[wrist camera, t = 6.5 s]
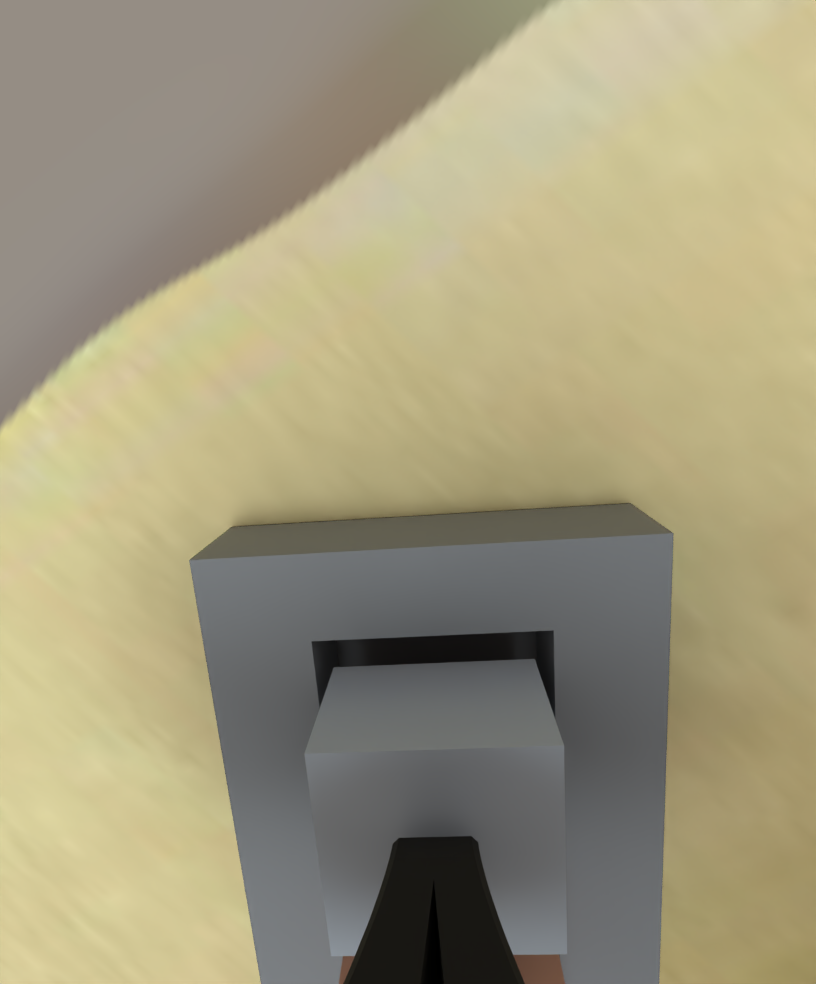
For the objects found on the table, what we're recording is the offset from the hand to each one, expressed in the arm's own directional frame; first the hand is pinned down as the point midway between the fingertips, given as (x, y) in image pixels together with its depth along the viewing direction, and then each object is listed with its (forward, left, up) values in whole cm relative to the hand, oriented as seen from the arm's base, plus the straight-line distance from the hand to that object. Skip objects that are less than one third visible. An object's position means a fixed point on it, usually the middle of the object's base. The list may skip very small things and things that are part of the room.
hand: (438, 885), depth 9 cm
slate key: (0, 0, -3) cm, 3 cm away
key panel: (0, +8, -6) cm, 10 cm away
